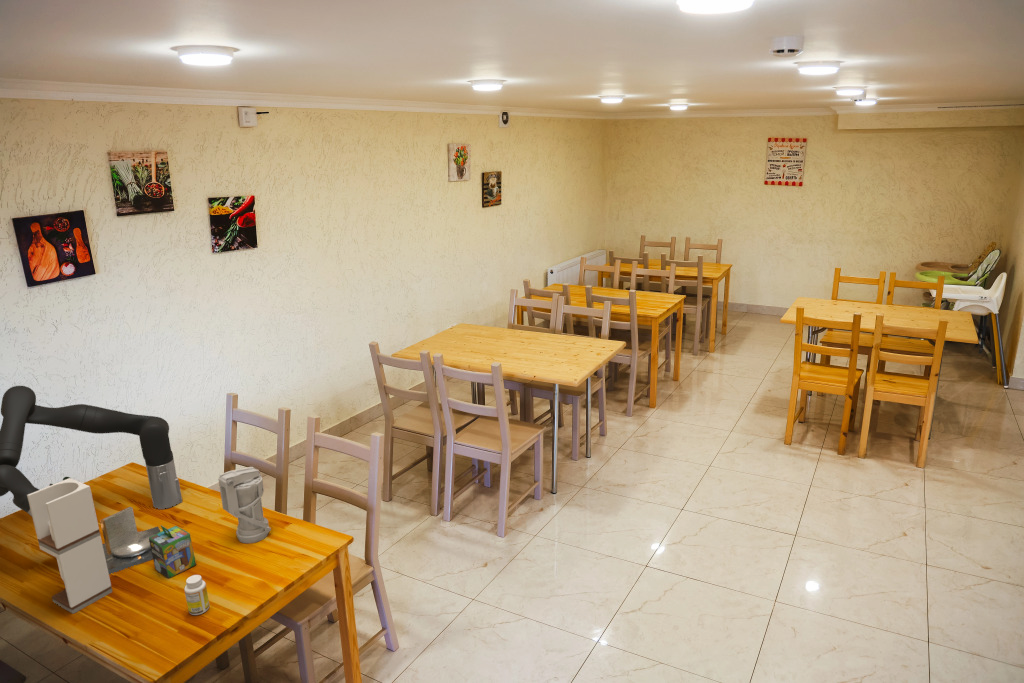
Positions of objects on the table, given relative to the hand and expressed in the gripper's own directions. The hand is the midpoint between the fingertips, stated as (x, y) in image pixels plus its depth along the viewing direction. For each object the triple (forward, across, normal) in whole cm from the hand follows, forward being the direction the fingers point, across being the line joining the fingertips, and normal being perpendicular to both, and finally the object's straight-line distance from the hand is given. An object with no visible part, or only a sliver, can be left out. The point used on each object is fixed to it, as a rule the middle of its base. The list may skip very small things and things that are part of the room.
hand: (98, 542), depth 218 cm
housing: (+10, -5, +1) cm, 12 cm away
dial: (+9, -4, +2) cm, 10 cm away
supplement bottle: (+32, +29, +22) cm, 49 cm away
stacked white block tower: (+7, +18, -3) cm, 20 cm away
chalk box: (+22, +6, +12) cm, 26 cm away
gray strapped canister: (+36, -8, +26) cm, 45 cm away
